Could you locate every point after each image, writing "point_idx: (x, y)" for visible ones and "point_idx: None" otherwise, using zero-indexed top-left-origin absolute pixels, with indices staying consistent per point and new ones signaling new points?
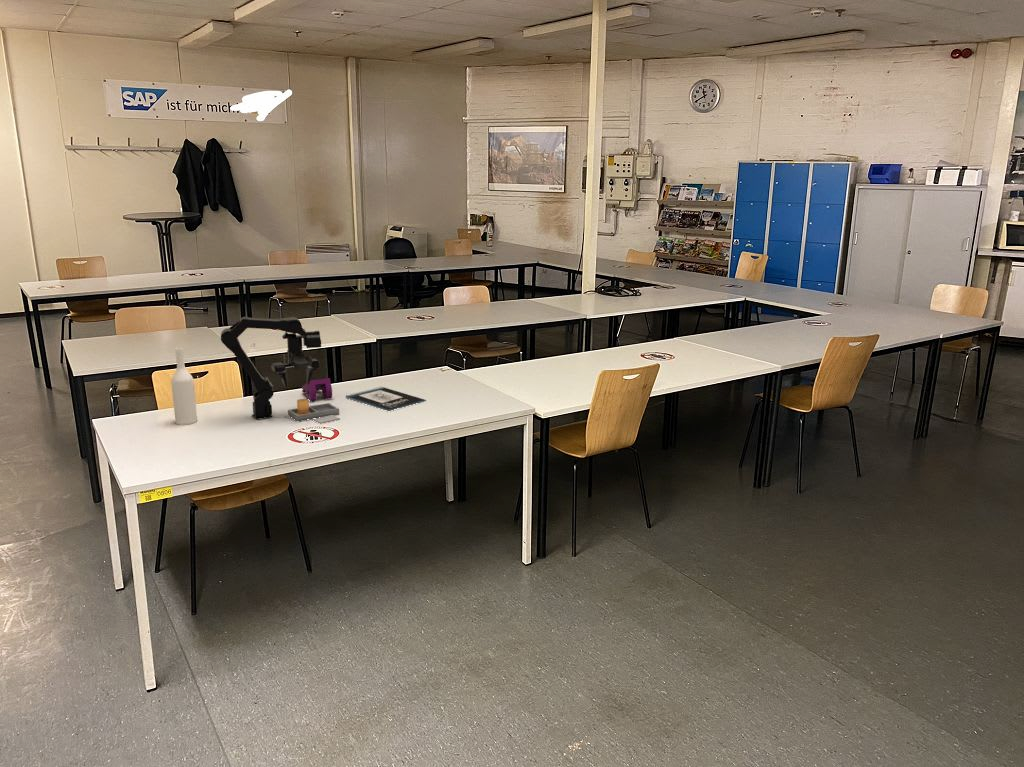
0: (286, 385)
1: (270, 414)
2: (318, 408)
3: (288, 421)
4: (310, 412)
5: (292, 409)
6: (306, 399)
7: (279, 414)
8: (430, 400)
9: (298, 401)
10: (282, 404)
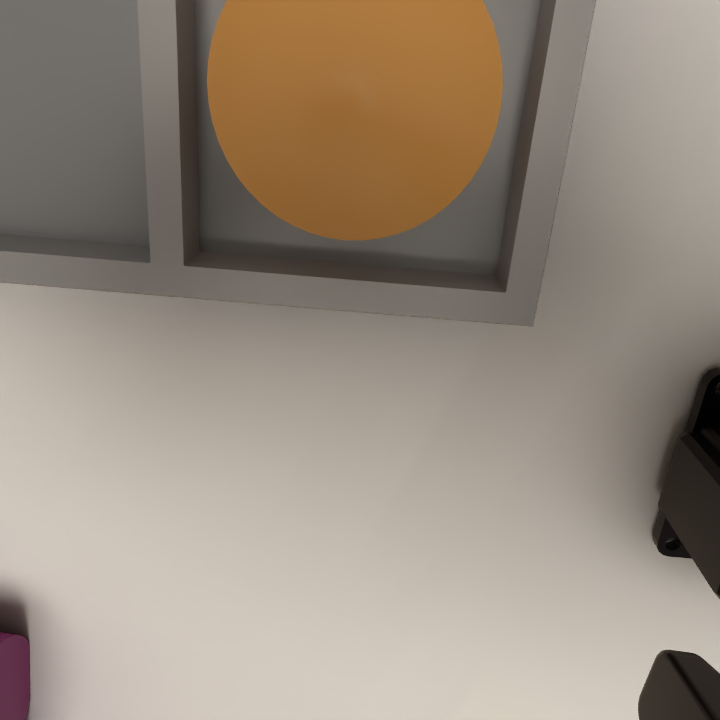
0: (707, 696)
1: (713, 425)
2: (33, 239)
3: (675, 12)
4: None
5: (461, 300)
6: (233, 119)
7: (565, 419)
8: None
9: (483, 74)
10: (335, 708)
